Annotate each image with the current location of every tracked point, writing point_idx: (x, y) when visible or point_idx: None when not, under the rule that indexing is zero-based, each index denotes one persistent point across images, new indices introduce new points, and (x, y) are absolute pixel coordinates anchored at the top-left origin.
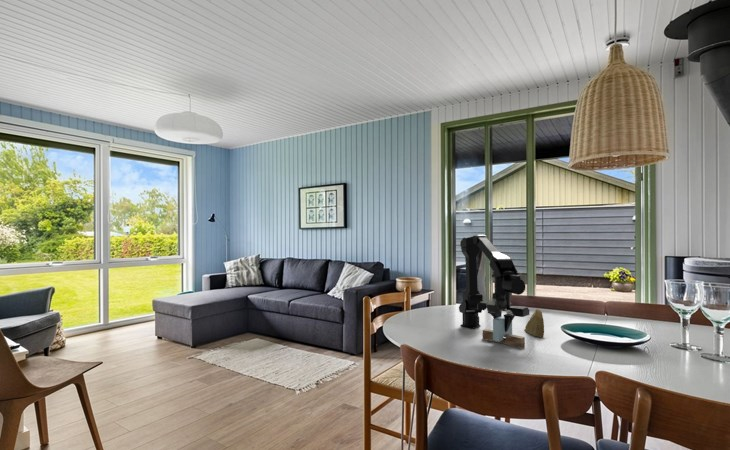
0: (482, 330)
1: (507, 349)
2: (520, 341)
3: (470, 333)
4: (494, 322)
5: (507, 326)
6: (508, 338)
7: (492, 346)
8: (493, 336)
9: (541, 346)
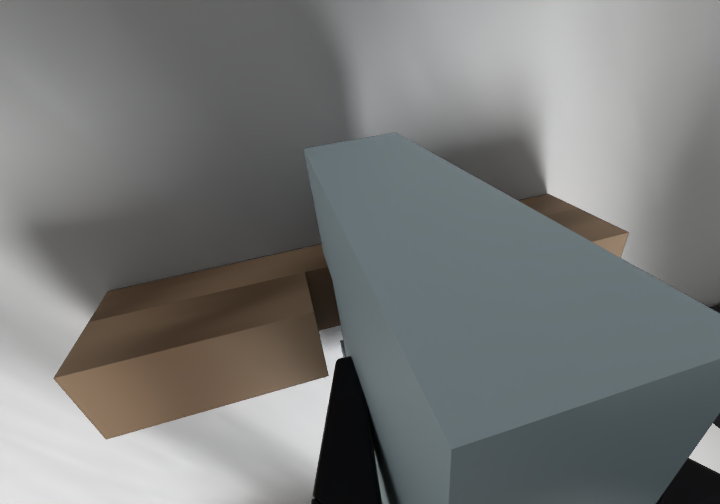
0: (622, 230)
1: (125, 101)
2: (94, 338)
3: (674, 227)
4: (568, 276)
5: (325, 447)
6: (269, 297)
7: (334, 41)
8: (409, 147)
9: (82, 453)
